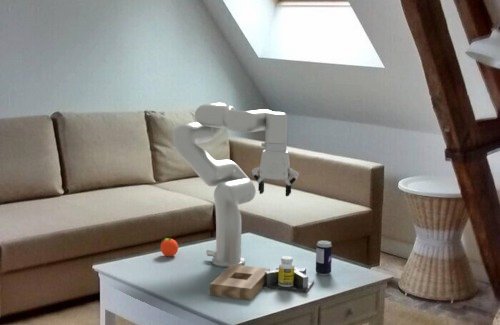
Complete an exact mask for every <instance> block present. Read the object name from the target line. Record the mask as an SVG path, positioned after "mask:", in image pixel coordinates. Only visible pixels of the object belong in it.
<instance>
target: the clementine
mask: <svg viewBox="0 0 500 325" xmlns="http://www.w3.org/2000/svg"><path fill="white" fill-rule="evenodd" d="M178 251H179V244H178V242H177V241H176V239H175V240H174V239H173V238H167V237H166V238H164V239H162V240H161V242H160V252H161V253H162V254H163V255H164V256H166V257H173V256H175V255H176V254H177V253H178Z"/></svg>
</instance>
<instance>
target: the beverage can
mask: <svg viewBox="0 0 500 325" xmlns="http://www.w3.org/2000/svg"><path fill="white" fill-rule="evenodd" d="M332 254H333V245H332V241H330V240H325V239H324V240H318V241H317V243H316V252H315V272H316V274H318V275H319V276H330V274H331V273H332V260H333V259H332V258H333V257H332Z"/></svg>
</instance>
